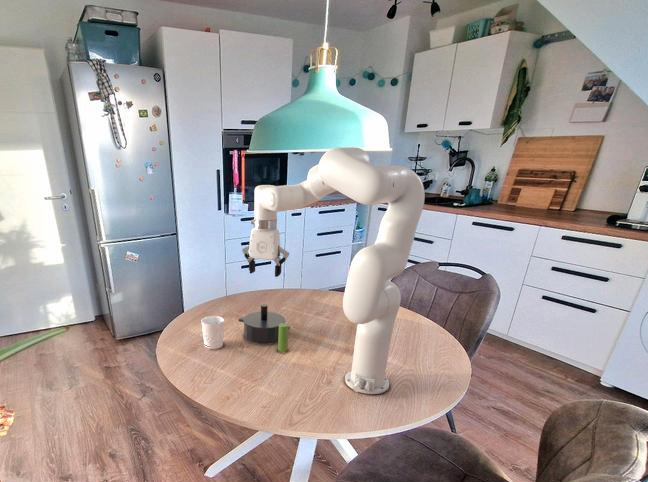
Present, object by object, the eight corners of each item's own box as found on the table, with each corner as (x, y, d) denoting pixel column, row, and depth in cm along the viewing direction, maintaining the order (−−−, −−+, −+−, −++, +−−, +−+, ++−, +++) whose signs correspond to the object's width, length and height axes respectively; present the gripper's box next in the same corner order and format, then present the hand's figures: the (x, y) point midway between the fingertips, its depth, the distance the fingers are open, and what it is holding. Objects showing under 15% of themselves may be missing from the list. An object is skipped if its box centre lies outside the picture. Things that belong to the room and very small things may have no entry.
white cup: (219, 351, 135) (218, 325, 131) (199, 348, 137) (197, 322, 133) (227, 342, 142) (227, 317, 138) (207, 339, 144) (206, 314, 140)
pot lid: (275, 333, 134) (275, 316, 131) (235, 325, 141) (235, 309, 138) (291, 318, 147) (291, 302, 144) (254, 311, 153) (254, 295, 151)
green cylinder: (285, 354, 133) (286, 327, 129) (276, 352, 134) (277, 325, 130) (288, 350, 136) (289, 324, 132) (280, 348, 137) (281, 322, 133)
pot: (281, 349, 136) (281, 333, 133) (231, 338, 144) (230, 322, 142) (295, 334, 148) (296, 318, 145) (248, 324, 156) (248, 309, 154)
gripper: (237, 224, 130) (238, 273, 137) (285, 228, 122) (283, 280, 129) (247, 221, 136) (247, 268, 143) (293, 224, 128) (291, 274, 135)
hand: (264, 274), depth 136 cm, fingers open, 9 cm apart
